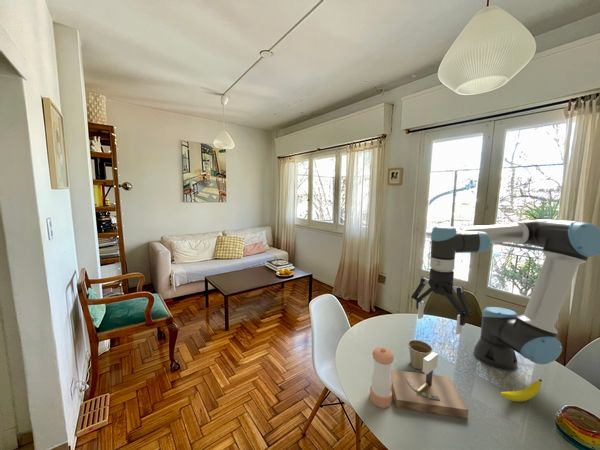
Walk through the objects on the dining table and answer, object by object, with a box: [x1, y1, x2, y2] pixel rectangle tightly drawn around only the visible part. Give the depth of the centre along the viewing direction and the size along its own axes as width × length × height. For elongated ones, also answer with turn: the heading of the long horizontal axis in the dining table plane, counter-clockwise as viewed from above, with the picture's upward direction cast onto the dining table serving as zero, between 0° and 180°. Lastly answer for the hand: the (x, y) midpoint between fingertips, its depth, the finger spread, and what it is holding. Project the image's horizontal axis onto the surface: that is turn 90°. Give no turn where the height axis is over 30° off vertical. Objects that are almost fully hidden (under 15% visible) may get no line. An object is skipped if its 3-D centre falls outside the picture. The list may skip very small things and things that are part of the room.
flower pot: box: [407, 339, 434, 371], centre depth 105 cm, size 9×9×9 cm
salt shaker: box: [369, 346, 395, 409], centre depth 86 cm, size 7×7×19 cm
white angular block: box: [417, 351, 439, 392], centre depth 89 cm, size 11×2×11 cm, turn 126°
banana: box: [500, 378, 543, 403], centre depth 87 cm, size 3×19×6 cm, turn 104°
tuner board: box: [391, 369, 469, 419], centre depth 89 cm, size 22×15×3 cm
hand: (438, 324), depth 92 cm, fingers open, 13 cm apart
